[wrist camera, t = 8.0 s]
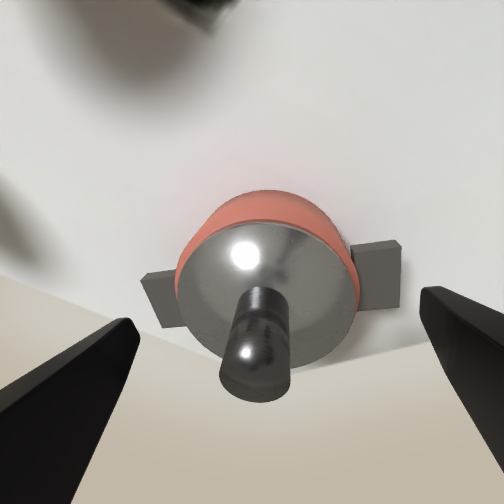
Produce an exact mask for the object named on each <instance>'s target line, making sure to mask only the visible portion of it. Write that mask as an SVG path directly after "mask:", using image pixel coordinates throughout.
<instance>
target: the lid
mask: <svg viewBox="0 0 504 504" xmlns="http://www.w3.org/2000/svg"><path fill="white" fill-rule="evenodd" d="M177 300H178V306H179V310H180V313H181V316H182V318H183V320H184V322H185V324H186V326H187V327H188V329H189V330H190V332H191V333H192V334H193V335H194V337H195V338H196V339H197V340H198V341H199V342H200V343H201V344H202V345H203V346H204V347H206V348H207V349H208V350H210V351H211V352H212V353H214V354H216V355H217V356H219V357H221V358H223V360H222V364H221V367H220V371H219V378H220V381H221V383H222V385H223V387H224V388H225V389H226V390H227V391H228V392H229V393H231V394H232V395H234V396H235V397H238V398H240V399H242V400H246V401H249V402H258V403H263V402H270V401H274V400H276V399H278V398H280V397H282V396H283V395H284V394H285V393H286V392H287V391H288V389H289V387H290V369H291V368H297V367H300V366H304V365H307V364H309V363H312V362H314V361H316V360H318V359H320V358H322V357H323V356H325V355H326V354H328V353H329V352H331V351H332V350H333V349H334V348H335V347H336V346H337V345H338V344H339V343H340V342H341V341H342V340H343V338H344V337H345V336H346V334H347V332H348V331H349V329H350V327H351V324H352V322H353V319H354V314H355V309H356V297H355V290H354V286H353V283H352V280H351V277H350V275H349V273H348V270H347V268H346V266H345V264H344V262H343V260H342V259H341V258H340V256H339V255H338V253H337V252H336V251H335V250H334V249H333V248H332V247H331V246H330V245H329V244H328V243H327V242H326V241H325V240H323V239H322V238H321V237H320V236H318V235H316V234H315V233H313V232H311V231H310V230H308V229H306V228H303V227H301V226H298V225H296V224H292V223H289V222H285V221H280V220H273V219H252V220H244V221H240V222H236V223H233V224H230V225H227V226H225V227H222V228H220V229H219V230H217V231H215V232H213V233H212V234H210V235H209V236H208V237H206V238H205V239H204V240H203V241H202V242H201V243H200V244H199V245H198V246H197V247H196V248H195V250H194V251H193V253H192V254H191V255H190V257H189V258H188V259H187V261H186V262H185V264H184V266H183V268H182V270H181V273H180V276H179V280H178V286H177Z"/></svg>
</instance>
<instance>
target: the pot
mask: <svg viewBox="0 0 504 504" xmlns="http://www.w3.org/2000/svg"><path fill="white" fill-rule="evenodd" d="M252 219H273V220H280V221H285V222H289V223H292V224H296V225H298V226H301V227H303V228H306V229H308V230H310V231H311V232H313V233H315V234H316V235H318V236H320V237H321V238H322V239H323V240H325V241H326V242H327V243H328V244H329V245H330V246H331V247H332V248H333V249H334V250H335V251H336V252H337V253H338V255H339V256H340V258H341V259H342V260H343V262H344V264H345V266H346V268H347V270H348V273H349V275H350V277H351V280H352V283H353V286H354V290H355V297H356V309H355V314H356V311H365V310H376V309H387V308H399V301H400V273H401V246H400V244H399V243H398V242H397V241H396V240H389V241H381V242H374V243H367V244H359V245H352V246H350V248H351V257H350V255H349V253H348V251H347V249H346V247H345V245H344V243H343V241H342V239H341V237H340V235H339V233H338V231H337V229H336V227H335V226H334V224H333V223H332V221H331V220H330V218H329V217H328V216H327V215H326V214H325V213H324V212H323V211H322V210H321V209H320V208H318V207H317V206H316V205H315V204H313V203H311V202H310V201H308V200H307V199H305V198H302V197H300V196H298V195H295V194H292V193H288V192H284V191H277V190H260V191H253V192H249V193H245V194H242V195H239V196H237V197H235V198H233V199H231V200H229V201H227V202H226V203H224V204H223V205H222V206H220V207H219V208H218V209H217V210H216V211H215V212H214V213H213V214H212V215H211V216H210V217H209V219H208V220H207V221H206V222H205V223H204V225H203V226H202V227H201V228H200V229H199V231H198V232H197V233H196V234H195V236H194V237H193V238H192V239H191V240H190V242H189V243H188V244H187V246H186V247H185V249H184V250H183V252H182V254H181V256H180V259H179V261H178V265H177V268H176V270H168V271H161V272H154V273H147V274H146V275H145V276H144V277H143V278H142V279H141V280H140V281H141V283H142V285H143V288H144V290H145V292H146V294H147V296H148V298H149V301H150V303H151V305H152V307H153V309H154V311H155V314H156V316H157V318H158V320H159V322H160V324H161V327H162V328H172V327H183V326H186V324H185V322H184V320H183V318H182V316H181V313H180V310H179V306H178V300H177V286H178V280H179V276H180V273H181V270H182V268H183V266H184V264H185V262H186V261H187V259H188V258H189V257H190V255H191V254H192V253H193V251H194V250H195V248H196V247H197V246H198V245H199V244H200V243H201V242H202V241H203V240H204V239H205V238H206V237H208V236H209V235H210V234H212V233H213V232H215V231H217V230H219V229H220V228H222V227H225V226H227V225H230V224H233V223H236V222H240V221H244V220H252ZM355 314H354V317H355Z"/></svg>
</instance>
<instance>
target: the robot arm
mask: <svg viewBox="0 0 504 504" xmlns="http://www.w3.org/2000/svg"><path fill="white" fill-rule="evenodd" d="M419 313H420V318H421V321H422V323H423V326H424V328H425V330H426V332H427V334H428V337H429V339H430V341H431V343H432V346H433V348H434V350H435V352H436V354H437V357H438V359H439V361H440V363H441V365H442V367H443V369H444V372H445V374H446V376H447V377H448V379H449V381H450V383H451V385H452V386H453V388H454V390H455V391H456V393H457V395H458V396H459V398H460V400H461V401H462V403H463V405H464V407H465V408H466V410H467V412H468V413H469V415H470V417H471V418H472V420H473V422H474V423H475V425H476V427H477V428H478V430H479V432H480V434H481V435H482V437H483V439H484V440H485V442H486V444H487V446H488V447H489V449H490V451H491V452H492V454H493V455H494V457H495V459H496V461H497V462H498V464H499V466H500V467H501V469H502V471H503V473H504V314H503V313H500V312H498V311H496V310H494V309H491V308H489V307H487V306H485V305H482V304H480V303H478V302H476V301H473V300H471V299H469V298H466V297H464V296H462V295H460V294H457V293H455V292H453V291H451V290H448V289H446V288H444V287H441V286H432V287H424V288H423V289H422V290H421V295H420V310H419ZM139 343H140V334H139V333H138V331H137V329H136V327H135V325H134V323H133V322H132V320H131V319H130V318H127V317H126V318H118V319H115V320H114V321H112V322H110V323H109V324H107V325H105V326H104V327H102V328H101V329H99V330H97V331H96V332H94V333H92V334H91V335H89V336H88V337H86V338H84V339H83V340H81V341H79V342H78V343H76V344H74V345H73V346H71V347H69V348H68V349H66V350H65V351H63V352H61V353H60V354H58V355H56V356H55V357H53V358H51V359H50V360H48V361H46V362H45V363H43V364H42V365H40V366H38V367H37V368H35V369H33V370H32V371H30V372H28V373H27V374H25V375H24V376H22V377H20V378H19V379H17V380H15V381H14V382H12V383H10V384H9V385H7V386H6V387H4V388H3V389H1V390H0V504H71V501H72V500H73V497H74V495H75V493H76V491H77V489H78V486H79V484H80V482H81V480H82V477H83V475H84V473H85V471H86V469H87V467H88V465H89V462H90V460H91V458H92V455H93V454H94V451H95V449H96V447H97V445H98V443H99V440H100V438H101V436H102V434H103V432H104V429H105V427H106V425H107V423H108V420H109V418H110V416H111V414H112V412H113V410H114V408H115V405H116V403H117V401H118V399H119V396H120V394H121V392H122V390H123V387H124V385H125V382H126V380H127V377H128V374H129V371H130V369H131V366H132V363H133V360H134V357H135V355H136V352H137V349H138V346H139Z"/></svg>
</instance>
